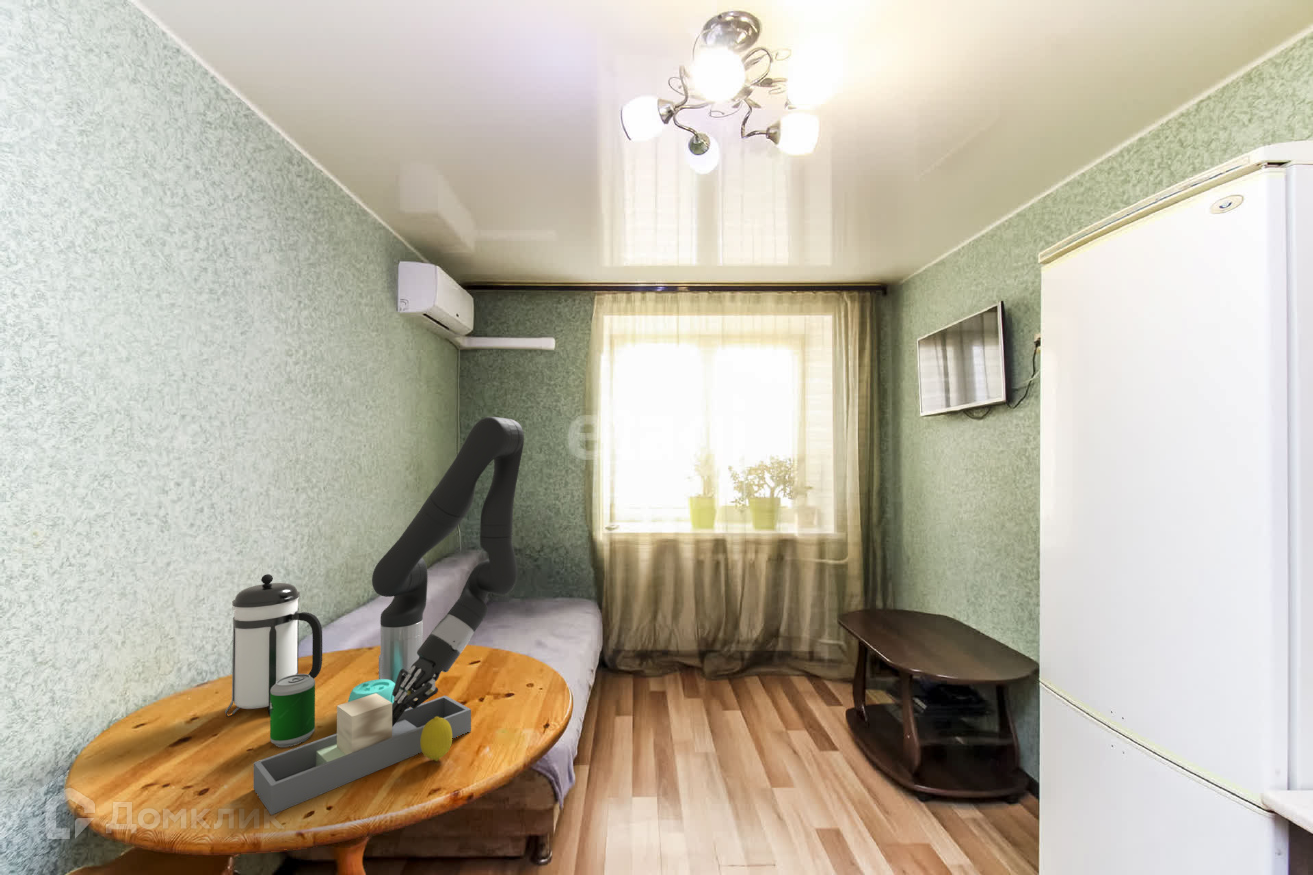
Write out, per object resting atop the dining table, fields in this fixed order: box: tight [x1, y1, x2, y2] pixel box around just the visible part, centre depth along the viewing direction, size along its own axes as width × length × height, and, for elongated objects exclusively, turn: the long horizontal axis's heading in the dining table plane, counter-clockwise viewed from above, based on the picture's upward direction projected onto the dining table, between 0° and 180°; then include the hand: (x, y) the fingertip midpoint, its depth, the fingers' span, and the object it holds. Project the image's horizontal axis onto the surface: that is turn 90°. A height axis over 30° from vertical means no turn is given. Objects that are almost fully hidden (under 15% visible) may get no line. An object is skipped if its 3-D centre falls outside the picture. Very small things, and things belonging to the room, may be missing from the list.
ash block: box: [336, 693, 392, 755], centre depth 103 cm, size 7×7×8 cm
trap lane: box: [252, 695, 472, 816], centre depth 104 cm, size 35×11×4 cm, turn 138°
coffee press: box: [224, 573, 323, 717], centre depth 128 cm, size 17×16×30 cm
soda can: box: [269, 673, 316, 748], centre depth 112 cm, size 8×8×12 cm
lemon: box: [420, 716, 453, 762], centre depth 103 cm, size 6×6×8 cm
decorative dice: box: [347, 678, 395, 704], centre depth 118 cm, size 8×8×8 cm
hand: (386, 723), depth 106 cm, fingers closed
